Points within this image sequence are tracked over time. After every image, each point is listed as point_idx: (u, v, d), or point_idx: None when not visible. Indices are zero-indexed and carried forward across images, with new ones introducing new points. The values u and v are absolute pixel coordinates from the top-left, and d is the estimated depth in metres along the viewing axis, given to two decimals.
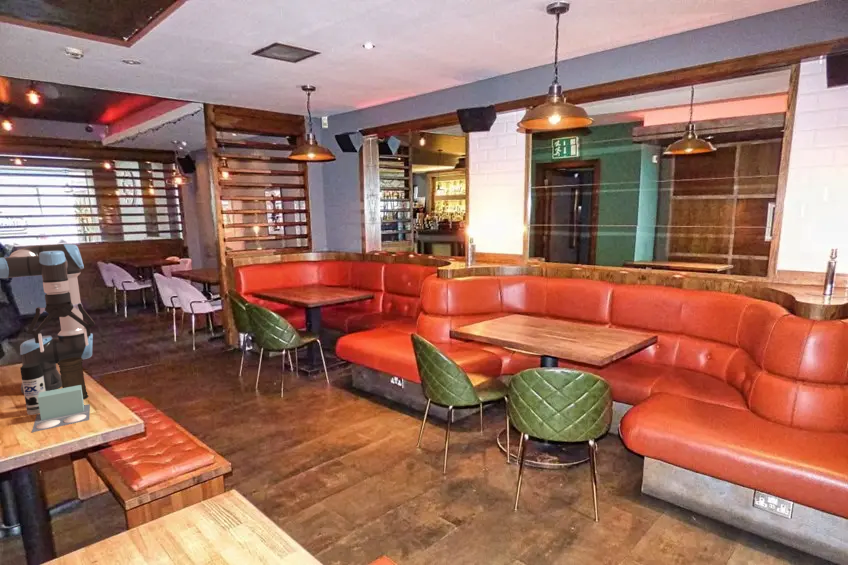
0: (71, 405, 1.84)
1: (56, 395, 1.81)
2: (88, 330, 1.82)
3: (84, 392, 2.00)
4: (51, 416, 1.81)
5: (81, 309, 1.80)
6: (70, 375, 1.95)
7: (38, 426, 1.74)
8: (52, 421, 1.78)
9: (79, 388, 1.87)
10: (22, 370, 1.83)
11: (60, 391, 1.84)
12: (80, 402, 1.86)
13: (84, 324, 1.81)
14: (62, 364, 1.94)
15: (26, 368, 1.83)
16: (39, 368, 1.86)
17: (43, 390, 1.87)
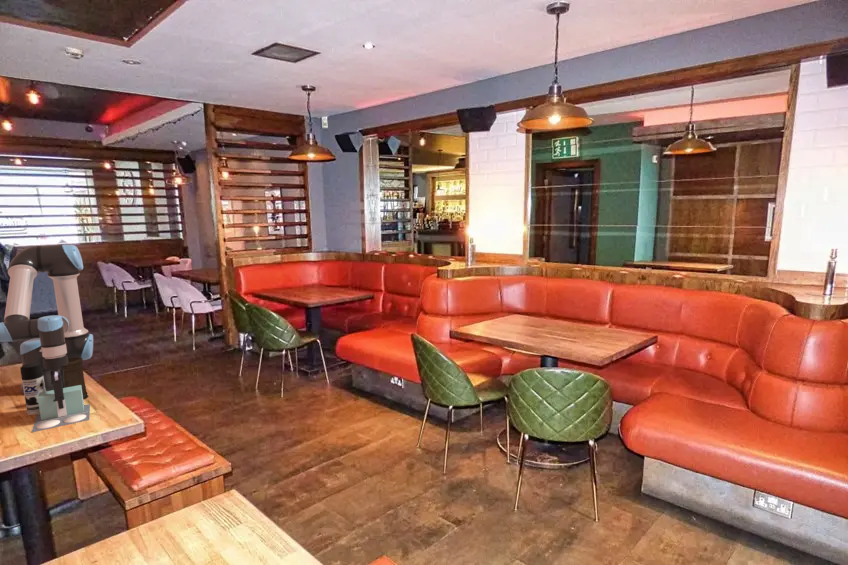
0: (71, 405, 1.84)
1: None
2: (58, 403, 1.80)
3: (84, 392, 2.00)
4: (51, 416, 1.81)
5: (52, 381, 1.78)
6: (70, 375, 1.95)
7: (38, 426, 1.74)
8: (52, 421, 1.78)
9: (79, 388, 1.87)
10: (22, 370, 1.83)
11: None
12: (80, 402, 1.86)
13: None
14: None
15: (26, 368, 1.83)
16: (39, 368, 1.86)
17: (43, 390, 1.87)
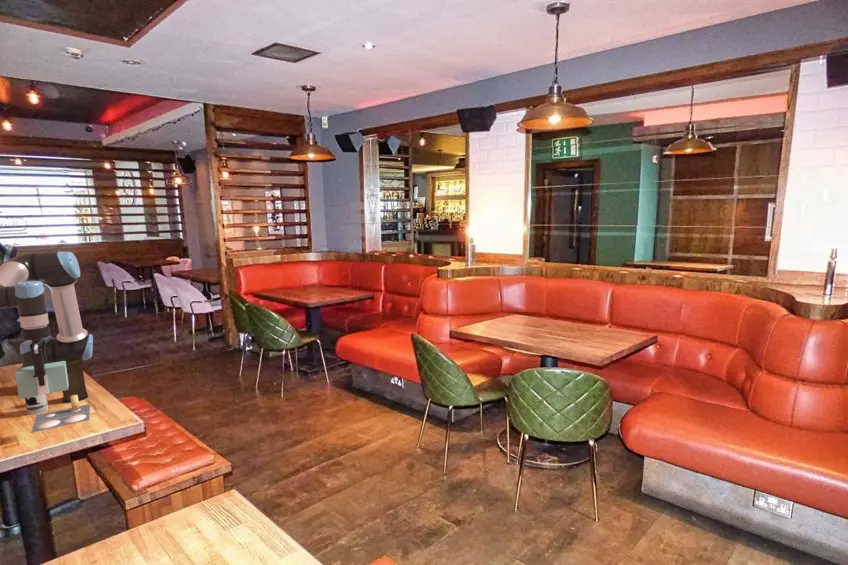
0: (53, 382, 1.64)
1: None
2: (38, 379, 1.60)
3: (84, 392, 2.00)
4: (30, 394, 1.61)
5: (32, 354, 1.58)
6: (70, 375, 1.95)
7: (38, 426, 1.74)
8: (52, 421, 1.78)
9: (63, 364, 1.66)
10: None
11: None
12: (64, 379, 1.66)
13: None
14: None
15: None
16: None
17: None
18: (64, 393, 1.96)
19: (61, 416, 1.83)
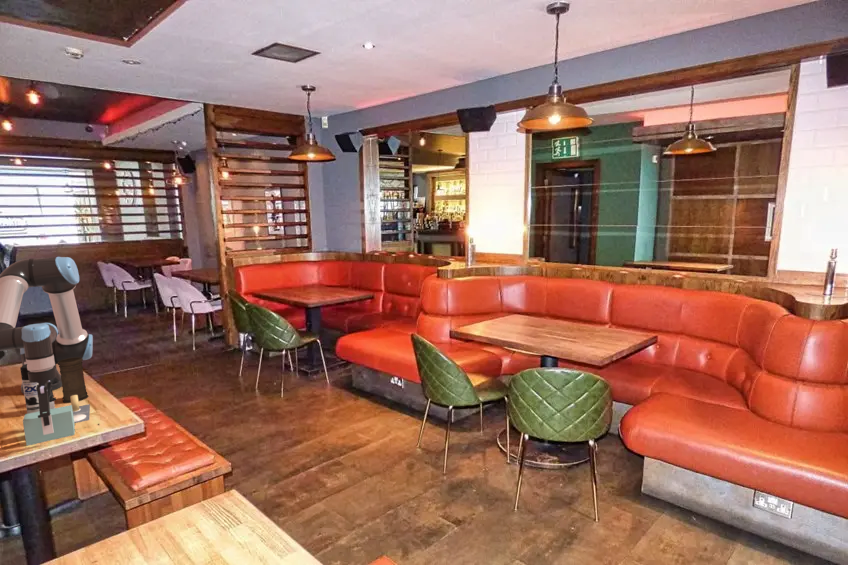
0: (60, 428, 1.67)
1: None
2: (43, 419, 1.60)
3: (84, 392, 2.00)
4: (38, 441, 1.63)
5: (38, 394, 1.59)
6: (70, 375, 1.95)
7: None
8: None
9: (69, 409, 1.69)
10: (22, 370, 1.83)
11: None
12: (70, 425, 1.68)
13: None
14: (62, 364, 1.94)
15: (26, 368, 1.83)
16: None
17: None
18: (64, 393, 1.96)
19: None
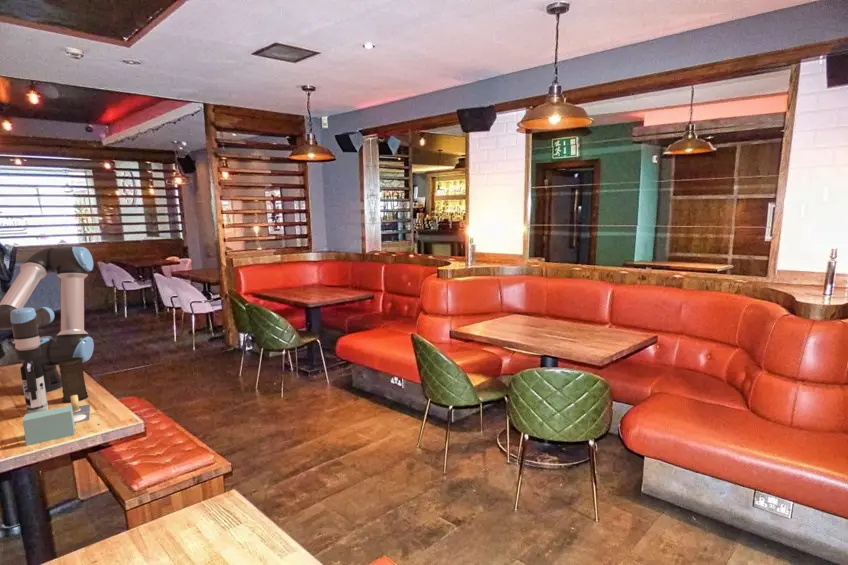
0: (60, 428, 1.67)
1: (43, 417, 1.64)
2: (31, 394, 1.83)
3: (84, 392, 2.00)
4: (38, 441, 1.63)
5: (25, 372, 1.80)
6: (70, 375, 1.95)
7: None
8: None
9: (69, 409, 1.69)
10: (22, 370, 1.83)
11: (48, 413, 1.66)
12: (70, 425, 1.68)
13: None
14: (62, 364, 1.94)
15: None
16: (39, 368, 1.86)
17: (43, 390, 1.87)
18: (64, 393, 1.96)
19: None
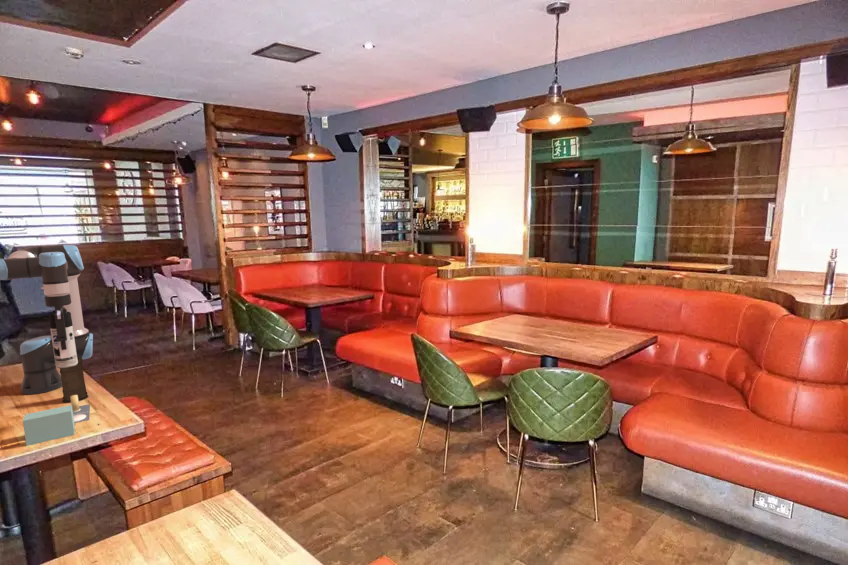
0: (60, 428, 1.67)
1: (43, 417, 1.64)
2: (60, 343, 1.71)
3: (84, 392, 2.00)
4: (38, 441, 1.63)
5: (55, 320, 1.69)
6: (70, 375, 1.95)
7: None
8: None
9: (69, 409, 1.69)
10: (51, 318, 1.71)
11: (48, 413, 1.66)
12: (70, 425, 1.68)
13: None
14: None
15: None
16: (68, 317, 1.74)
17: (72, 340, 1.76)
18: (64, 393, 1.96)
19: None
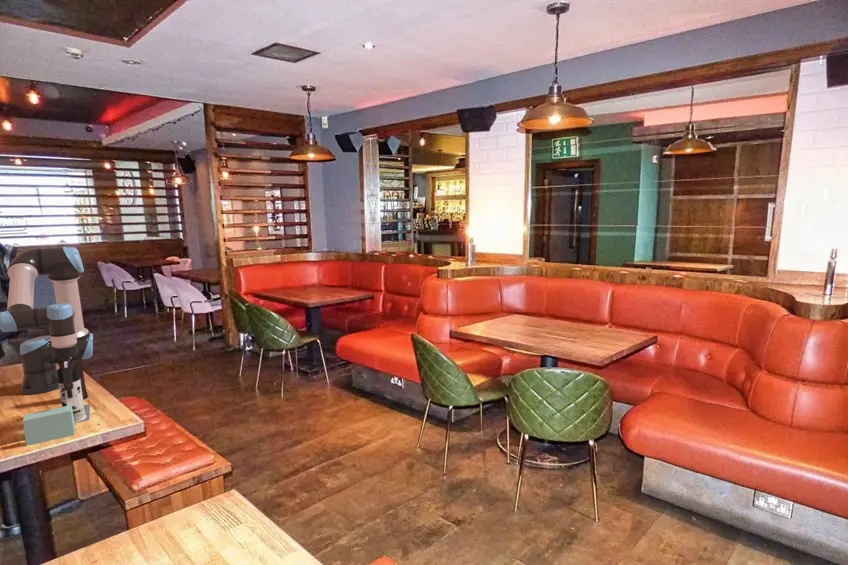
0: (60, 428, 1.67)
1: (43, 417, 1.64)
2: (67, 392, 1.71)
3: (84, 392, 2.00)
4: (38, 441, 1.63)
5: (62, 369, 1.71)
6: None
7: None
8: None
9: (69, 409, 1.69)
10: (59, 373, 1.74)
11: (48, 413, 1.66)
12: (70, 425, 1.68)
13: None
14: None
15: None
16: (76, 371, 1.78)
17: (80, 394, 1.79)
18: None
19: None
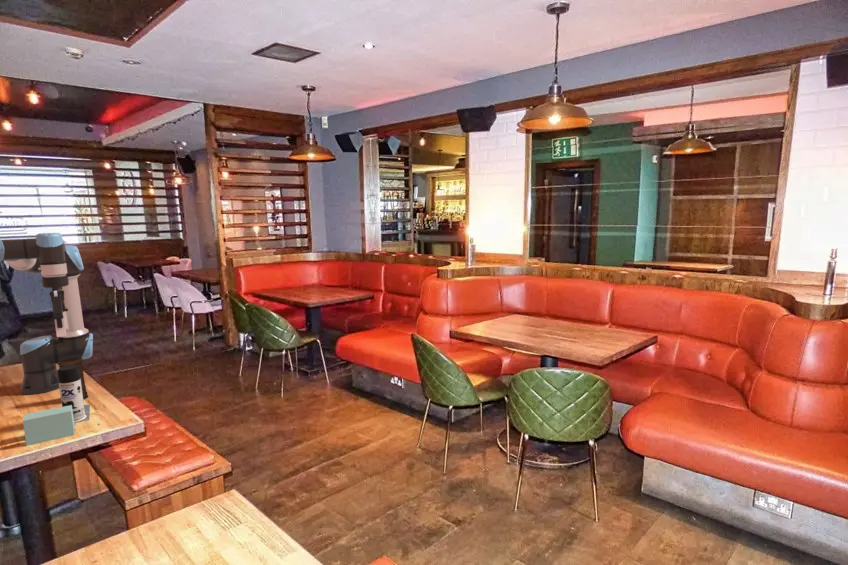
0: (60, 428, 1.67)
1: (43, 417, 1.64)
2: (56, 321, 1.67)
3: (84, 392, 2.00)
4: (38, 441, 1.63)
5: (51, 297, 1.67)
6: None
7: None
8: None
9: (69, 409, 1.69)
10: (59, 373, 1.75)
11: (48, 413, 1.66)
12: (70, 425, 1.68)
13: None
14: (62, 364, 1.94)
15: (64, 371, 1.75)
16: (77, 371, 1.78)
17: (80, 394, 1.79)
18: None
19: None
